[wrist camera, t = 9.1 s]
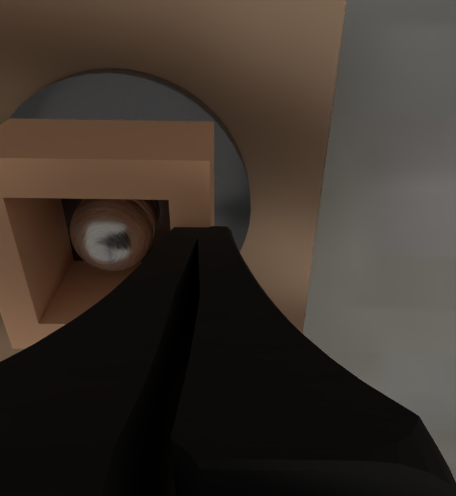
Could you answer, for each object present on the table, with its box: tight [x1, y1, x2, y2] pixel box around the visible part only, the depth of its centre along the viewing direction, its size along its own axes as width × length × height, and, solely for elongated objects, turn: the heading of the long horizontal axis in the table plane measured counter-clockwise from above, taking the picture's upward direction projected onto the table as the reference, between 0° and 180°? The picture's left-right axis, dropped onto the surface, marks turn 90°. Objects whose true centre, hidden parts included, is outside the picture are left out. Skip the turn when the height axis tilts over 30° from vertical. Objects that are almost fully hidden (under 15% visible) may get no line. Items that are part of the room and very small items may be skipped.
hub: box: [8, 68, 251, 271], centre depth 12 cm, size 8×8×3 cm
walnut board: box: [0, 0, 346, 362], centre depth 16 cm, size 20×12×2 cm, turn 0°
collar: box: [0, 118, 214, 349], centre depth 12 cm, size 5×5×3 cm
